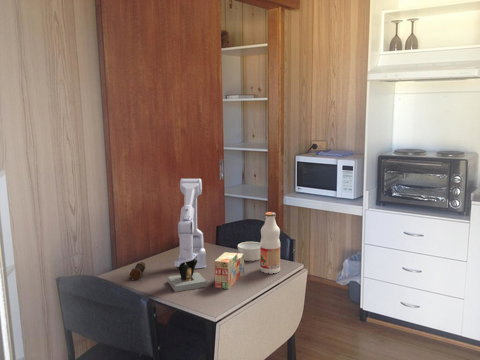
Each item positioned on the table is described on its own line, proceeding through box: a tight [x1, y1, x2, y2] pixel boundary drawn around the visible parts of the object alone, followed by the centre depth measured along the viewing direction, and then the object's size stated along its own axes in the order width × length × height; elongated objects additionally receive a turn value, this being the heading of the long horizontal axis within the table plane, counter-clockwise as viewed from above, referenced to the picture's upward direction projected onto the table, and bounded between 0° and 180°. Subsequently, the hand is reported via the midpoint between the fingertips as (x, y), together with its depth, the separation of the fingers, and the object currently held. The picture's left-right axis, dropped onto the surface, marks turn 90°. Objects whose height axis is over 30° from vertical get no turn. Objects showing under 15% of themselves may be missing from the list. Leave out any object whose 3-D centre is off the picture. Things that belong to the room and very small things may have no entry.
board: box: [167, 272, 208, 293], centre depth 190 cm, size 14×12×2 cm
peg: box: [183, 267, 191, 282], centre depth 189 cm, size 4×4×6 cm
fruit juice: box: [259, 211, 281, 275], centre depth 204 cm, size 9×9×28 cm
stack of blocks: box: [214, 251, 245, 290], centre depth 194 cm, size 21×6×12 cm, turn 161°
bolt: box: [128, 261, 147, 281], centre depth 203 cm, size 6×5×15 cm
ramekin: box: [237, 241, 260, 262], centre depth 225 cm, size 13×13×7 cm
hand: (187, 277), depth 189 cm, fingers open, 4 cm apart
